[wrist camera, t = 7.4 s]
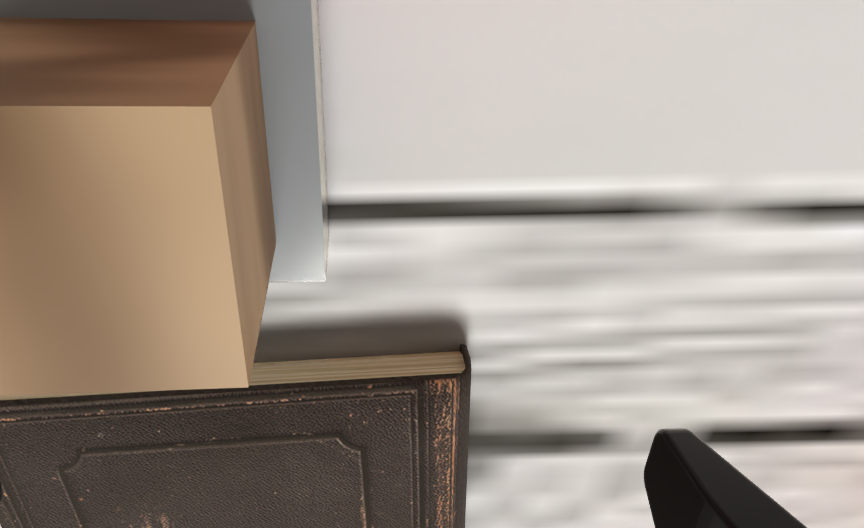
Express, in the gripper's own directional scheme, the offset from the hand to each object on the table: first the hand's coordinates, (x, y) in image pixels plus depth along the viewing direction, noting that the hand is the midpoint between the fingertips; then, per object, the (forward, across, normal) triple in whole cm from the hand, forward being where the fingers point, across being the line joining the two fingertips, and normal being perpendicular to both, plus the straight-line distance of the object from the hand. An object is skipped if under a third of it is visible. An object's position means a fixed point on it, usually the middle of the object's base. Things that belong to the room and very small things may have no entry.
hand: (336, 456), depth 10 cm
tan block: (+9, +5, -1) cm, 10 cm away
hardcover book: (+12, +4, +19) cm, 23 cm away
